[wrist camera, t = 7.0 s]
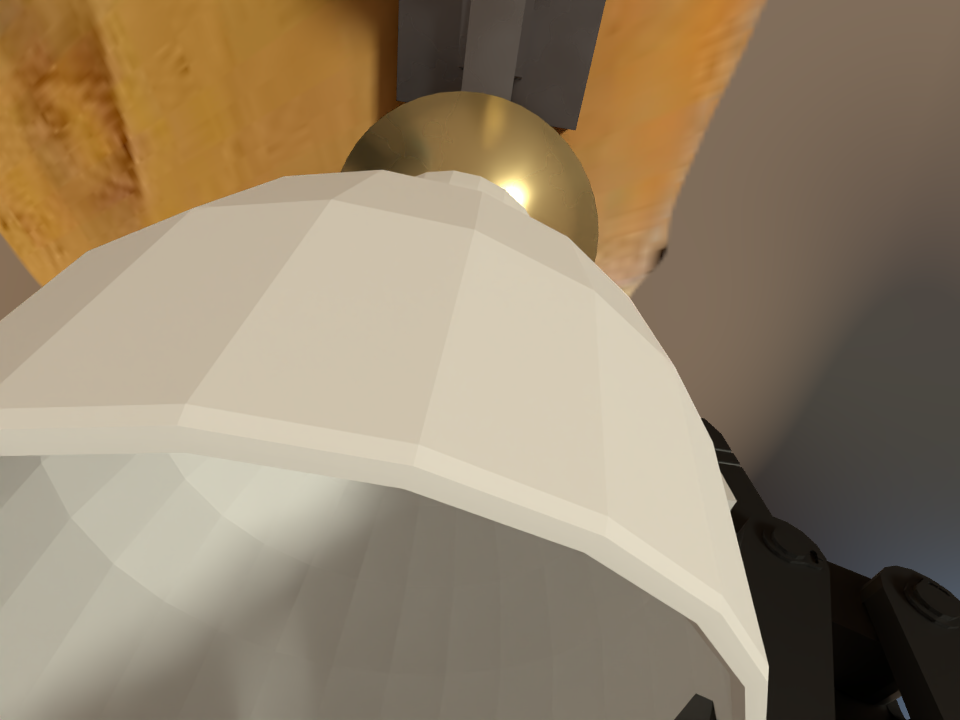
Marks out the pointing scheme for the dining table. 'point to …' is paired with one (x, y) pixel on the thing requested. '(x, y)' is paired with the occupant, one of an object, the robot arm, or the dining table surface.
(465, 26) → the balance
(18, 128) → the dining table surface
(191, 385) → the cup
